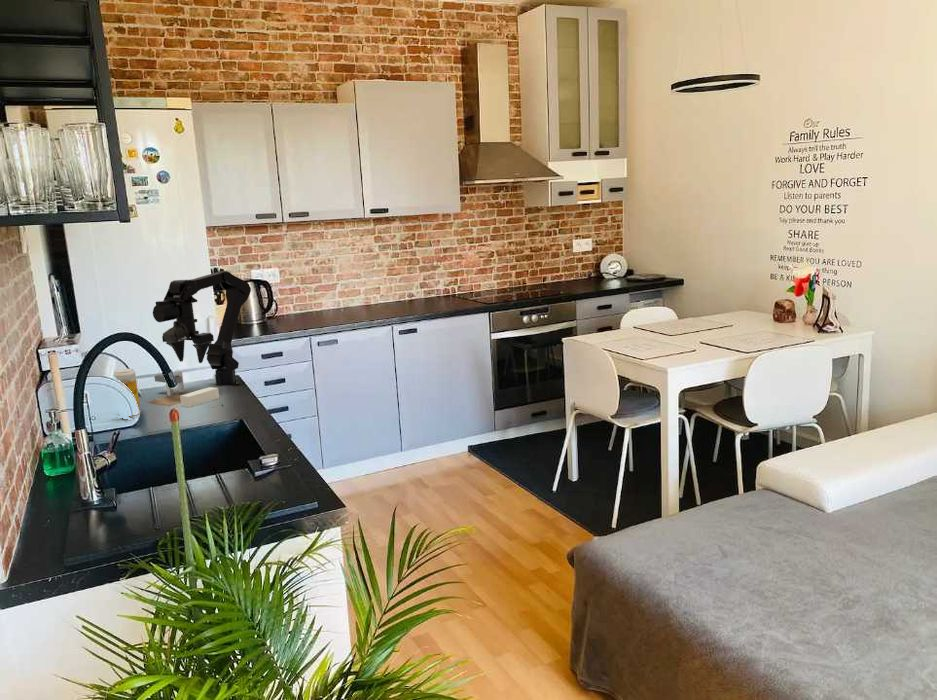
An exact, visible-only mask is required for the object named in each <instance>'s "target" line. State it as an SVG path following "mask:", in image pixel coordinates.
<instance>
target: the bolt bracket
mask: <svg viewBox="0 0 937 700" xmlns="http://www.w3.org/2000/svg"><path fill="white" fill-rule="evenodd" d="M172 373H173V375H174V376H182V382H181V383H178V384H176V385H178V386H176V387H177V393H179V394H182V393H185V385H184V383H185V382H184V378H183V377H184V376H183V372H182V371H176V372H172ZM165 389H166V395H167V396H168V397H172V396H174V394H175V392H174V388H173V389H171V388H169V387H168V385H167V383H165Z"/></svg>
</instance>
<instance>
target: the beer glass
mask: <svg viewBox="0 0 937 700" xmlns="http://www.w3.org/2000/svg"><path fill="white" fill-rule="evenodd" d="M114 376H115V377H116V378H117V379H118V380H120V381H121V382H122V383H124V384H125V385H126V386H127V387H128V388H129V389H130V390H131V391H132V393H133V394H134V396H135V398H136V401H137V404H138V407H139V410H140V414H141V412H142V411H141V408H140V407H141V406H140V398H139V391H138V382H137V376H136V371H135V369H134V368H122V369H117V370H115V371H114V373H113V377H114Z"/></svg>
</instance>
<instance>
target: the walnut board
mask: <svg viewBox="0 0 937 700" xmlns="http://www.w3.org/2000/svg"><path fill="white" fill-rule="evenodd" d="M184 392H185V391H184ZM188 393H189V392H185V393H182V394H179V393H178V392H176V393H174V396H172V397H168V396H163V397H159V398H157V399H153V400H149V401H146V402H145V404H150V405H158V406H166V407H171V406H175V405H177V404H181V399H180V396H181V395H185V394H188Z"/></svg>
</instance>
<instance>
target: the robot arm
mask: <svg viewBox="0 0 937 700" xmlns="http://www.w3.org/2000/svg"><path fill="white" fill-rule="evenodd" d="M217 285H220V287H221V288H222V289H223V290H224V291H225V299H226V307H225V311H224V314H223V318H222V322H221V325H220V328H219V332H218V334H217V335H218V336H217V339H216V341H215V339H214V334H213V333H211V332H199V330H196V323H198V319H197V318H195V314H194V306H193V304H194V303H198V299H196V298H195V297H193V296H194V295H196V294H197V293H198V292H199V291H201V290H205V289H208V288H210V287H214V286H217ZM251 291H252V288H251V286H250V283H249V282H247V281H244V280H243V279H242V278H239V277H237V276H235V275H233V274H232V273H231V272H229V271H228V270H218V271H216V272H214V273H210V274H206V275H203V276H200V277H199V276H198V277H195V278H193V279H176V280H172V281H170V282H169V286H168V289H167V291H166V294H165V296H164V298H163V300H159V301H158V300H156V301H155V306H154V307H153V309H152V316H153V319H154V320H155V321H156V322H157V323H165V322H169V321H173V320H174V321H173V323H172V324H173V326H172V327H170V328H168V330H166V331H164V332H163V333H162V343H165V344H166V345H168V346H170V347H171V348H172V349H173V351H174V353H175V355H176V357H177V359H178V360H179V362H183V361H184V357H185V356H184V355H185V343H186V341H192V343H193V344H192V346H193V347H194V348H195V350H196V355H197V360H198V363H199V364H202V363H203V362H204V359H205V355H206V361H207V363H208V364H209V366H210V368H211V370H215V374H214V377H215V385H216V386H221V387H222V386H233V387H234V386H237V384H238V385H240V382H237V378H236V370H237V369H239V365H240V363H239V362H238V360H237V359H235V358H234V357H233V353H234V351H233V350H234V349H233V347H232V340H233V337H234V334H235V330H236V326H237V323H238V319H239V315H240V311H241V309H242V306H243V305H244V304H245V303H246V302H247V301H248V300H249V297H250V294H251ZM212 342H214V343H212Z"/></svg>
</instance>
